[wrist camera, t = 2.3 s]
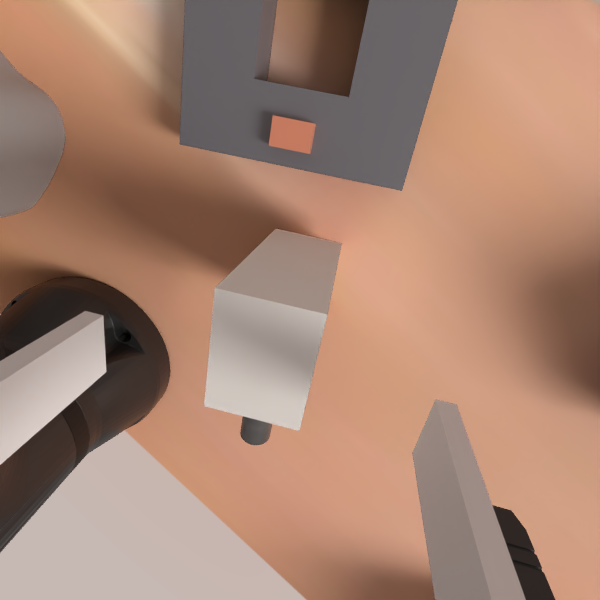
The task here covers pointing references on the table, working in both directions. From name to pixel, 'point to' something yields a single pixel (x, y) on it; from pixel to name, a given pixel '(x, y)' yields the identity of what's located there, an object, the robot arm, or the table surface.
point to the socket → (309, 103)
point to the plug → (270, 331)
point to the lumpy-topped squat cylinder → (26, 140)
